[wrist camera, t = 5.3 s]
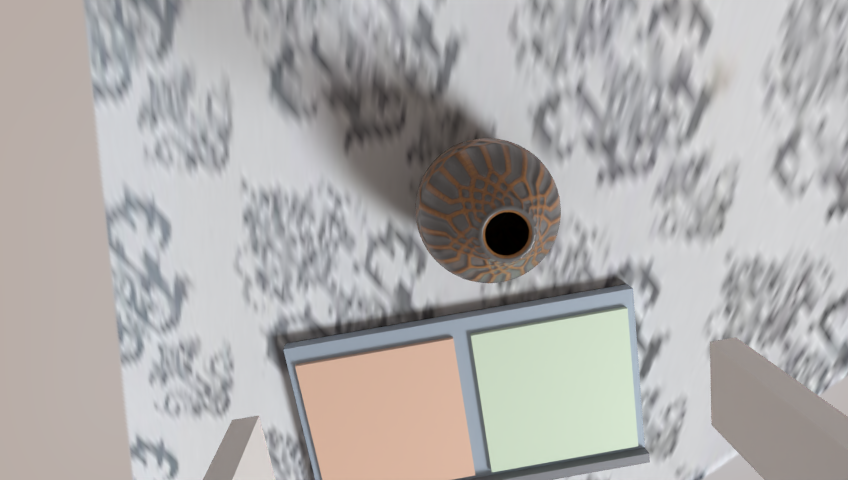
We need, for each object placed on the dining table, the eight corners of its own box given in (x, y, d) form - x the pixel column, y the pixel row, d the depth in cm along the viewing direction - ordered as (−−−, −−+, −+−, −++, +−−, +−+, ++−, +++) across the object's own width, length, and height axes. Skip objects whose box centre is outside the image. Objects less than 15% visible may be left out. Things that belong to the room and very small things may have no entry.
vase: (451, 280, 32) (473, 345, 23) (389, 175, 30) (388, 204, 22) (558, 219, 31) (620, 263, 23) (501, 110, 30) (545, 113, 21)
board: (285, 343, 32) (281, 354, 31) (627, 284, 32) (637, 292, 31) (324, 504, 35) (322, 520, 34) (639, 448, 35) (649, 462, 34)
